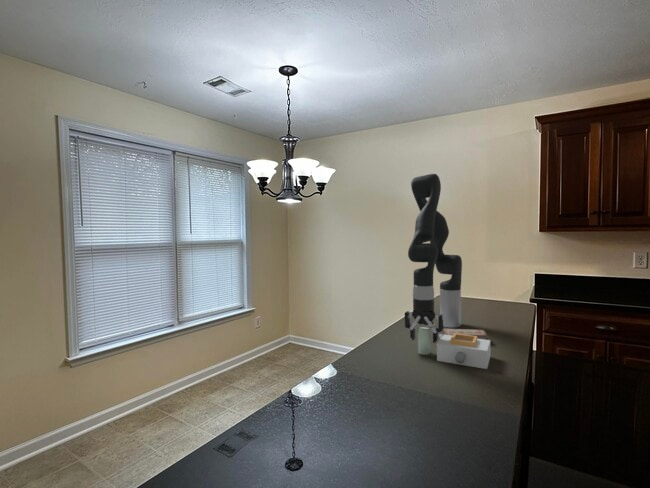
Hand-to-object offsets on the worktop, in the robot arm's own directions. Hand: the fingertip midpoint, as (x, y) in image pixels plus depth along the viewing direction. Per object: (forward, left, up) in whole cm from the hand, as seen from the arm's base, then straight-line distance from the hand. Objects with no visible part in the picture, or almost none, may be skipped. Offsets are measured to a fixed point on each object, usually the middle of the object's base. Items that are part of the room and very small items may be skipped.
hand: (423, 340), depth 132 cm
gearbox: (+1, +14, -4) cm, 15 cm away
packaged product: (-20, +11, -5) cm, 23 cm away
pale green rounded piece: (0, 0, -4) cm, 4 cm away
